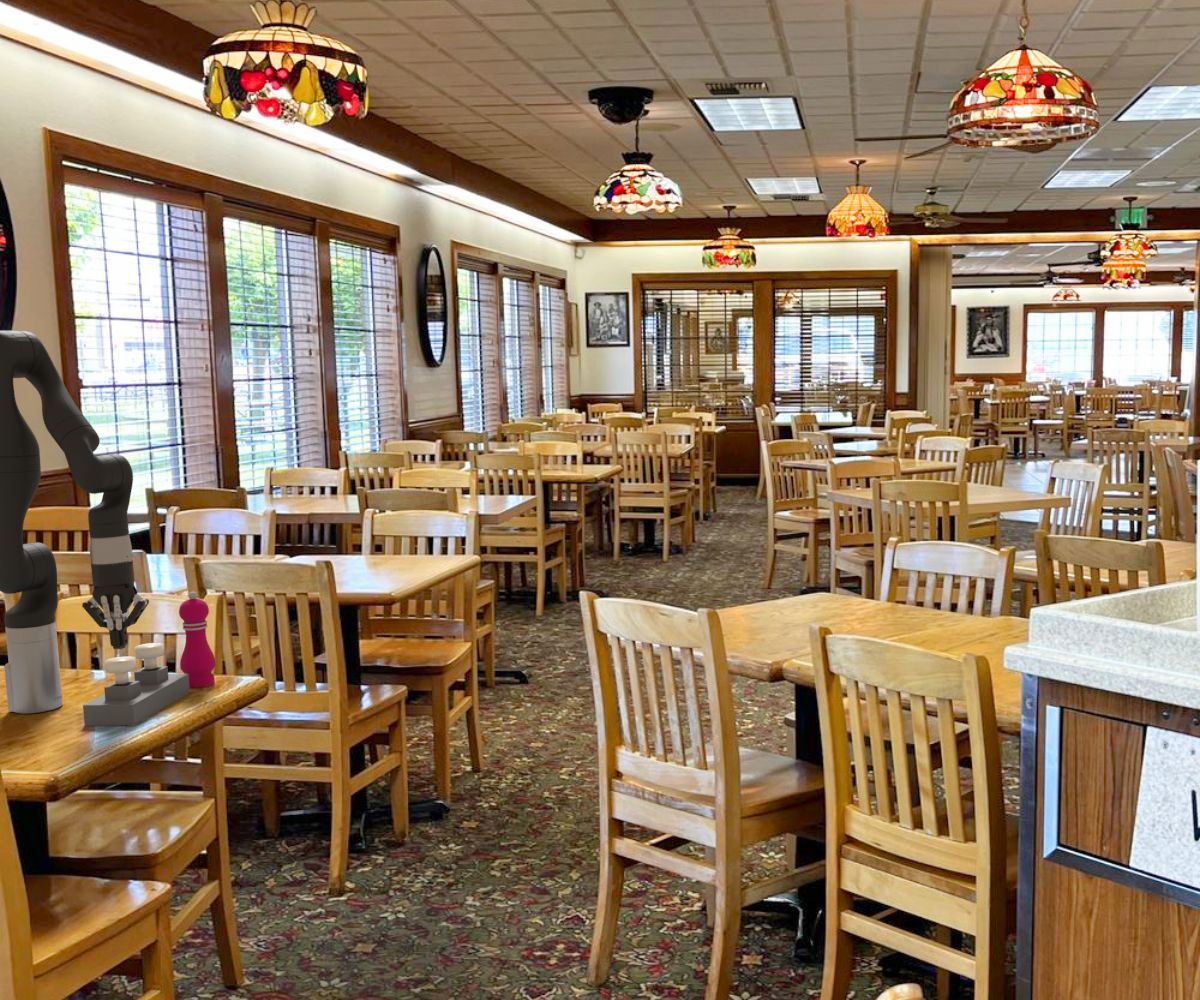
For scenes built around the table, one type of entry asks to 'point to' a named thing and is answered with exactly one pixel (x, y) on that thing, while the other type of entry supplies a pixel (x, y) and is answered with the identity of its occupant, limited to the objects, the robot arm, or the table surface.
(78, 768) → the table surface
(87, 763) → the table surface
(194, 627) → the pepper mill
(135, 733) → the table surface
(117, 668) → the knob
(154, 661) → the knob
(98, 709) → the mount bar
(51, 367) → the robot arm
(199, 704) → the table surface
